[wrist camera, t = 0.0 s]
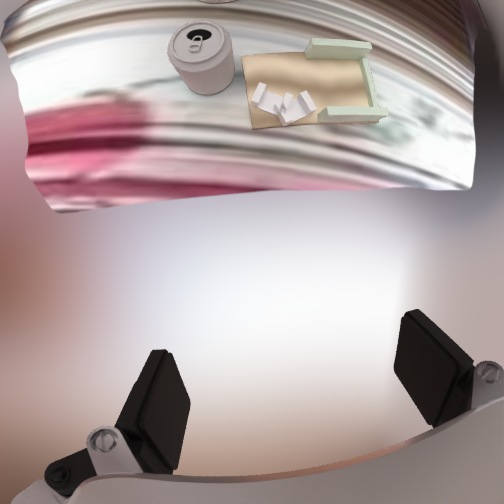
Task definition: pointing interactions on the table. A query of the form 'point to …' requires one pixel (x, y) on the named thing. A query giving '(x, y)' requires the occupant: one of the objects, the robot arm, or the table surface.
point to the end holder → (357, 51)
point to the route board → (304, 84)
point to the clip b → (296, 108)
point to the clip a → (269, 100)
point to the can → (202, 56)
